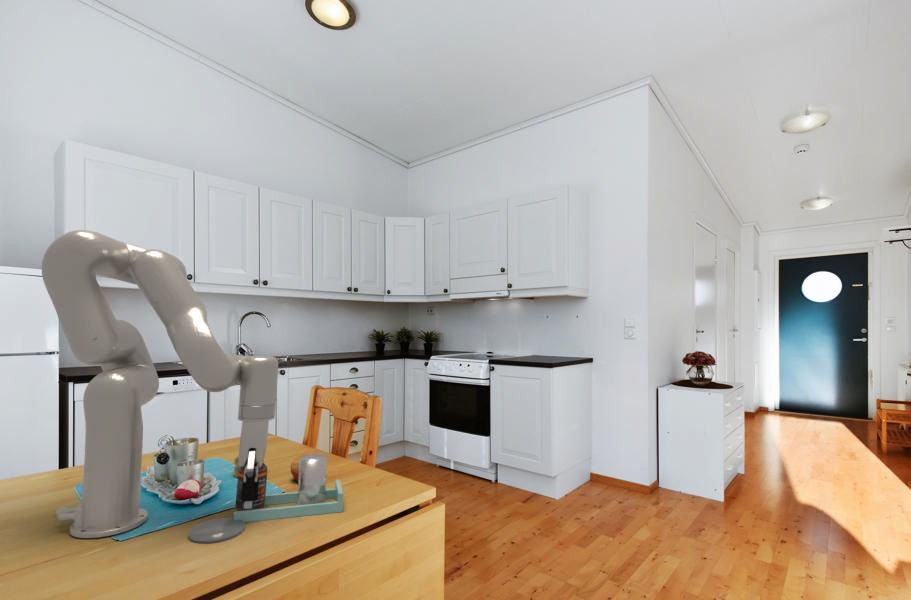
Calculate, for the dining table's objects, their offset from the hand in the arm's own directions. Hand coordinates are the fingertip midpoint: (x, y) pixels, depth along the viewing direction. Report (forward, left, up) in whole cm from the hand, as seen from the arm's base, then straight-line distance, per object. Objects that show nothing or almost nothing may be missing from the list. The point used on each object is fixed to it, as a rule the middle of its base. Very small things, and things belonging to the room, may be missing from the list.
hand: (251, 494), depth 101 cm
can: (+13, 0, -4) cm, 13 cm away
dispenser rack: (+8, 0, -4) cm, 9 cm away
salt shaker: (-3, +28, -4) cm, 29 cm away
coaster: (-5, -8, -4) cm, 10 cm away
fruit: (+12, +19, -4) cm, 23 cm away
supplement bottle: (0, 0, -3) cm, 3 cm away
